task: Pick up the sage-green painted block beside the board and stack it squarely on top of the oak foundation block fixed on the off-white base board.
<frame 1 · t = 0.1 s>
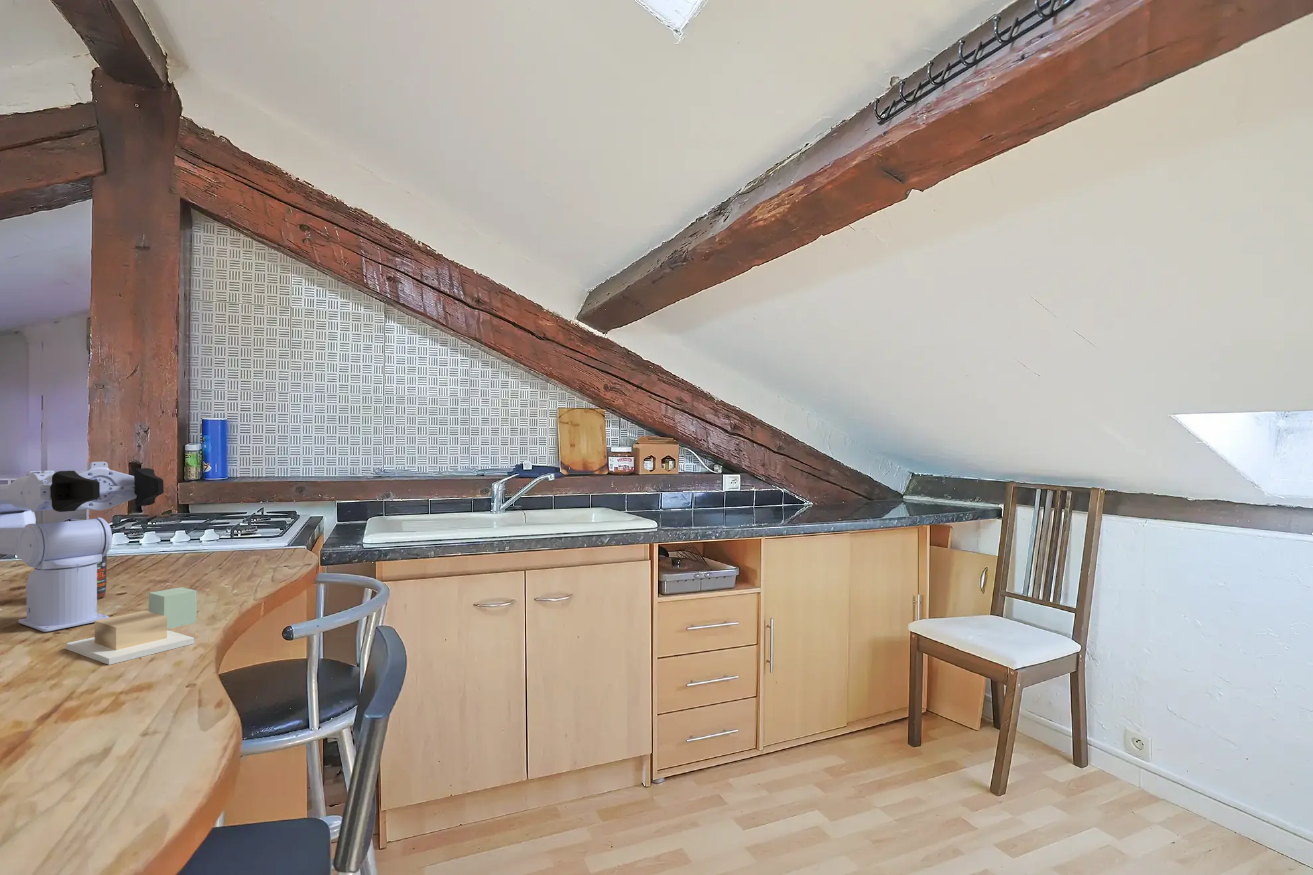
hand: (129, 488, 95), 22 cm above the table, tool horizontal, fingers open, 7 cm apart
build base: (131, 646, 93), on the table
supplement bottle: (84, 600, 118), on the table
sage block: (172, 624, 104), on the table
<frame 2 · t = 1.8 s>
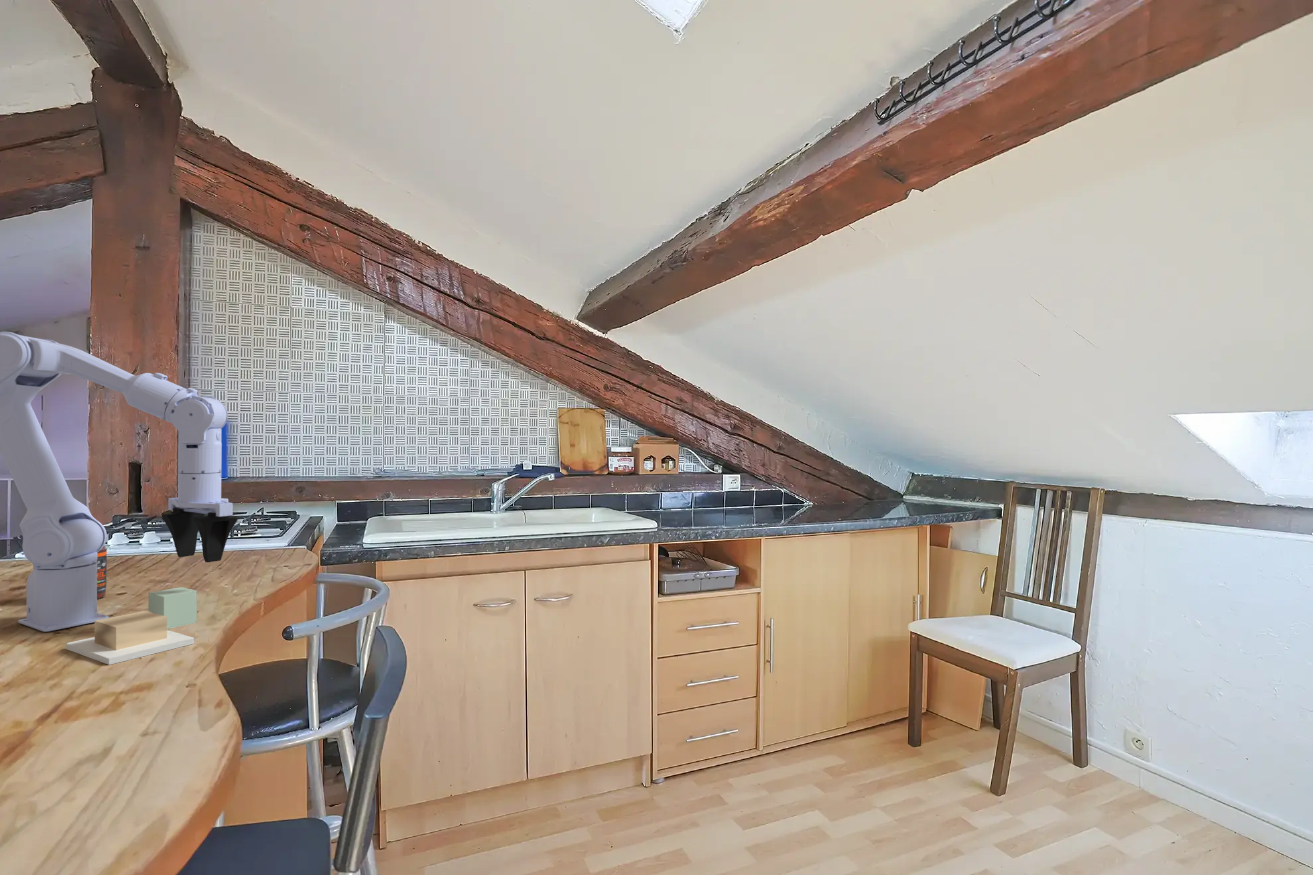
hand: (199, 558, 108), 9 cm above the table, tool pointing down, fingers open, 7 cm apart
nothing on the table moved.
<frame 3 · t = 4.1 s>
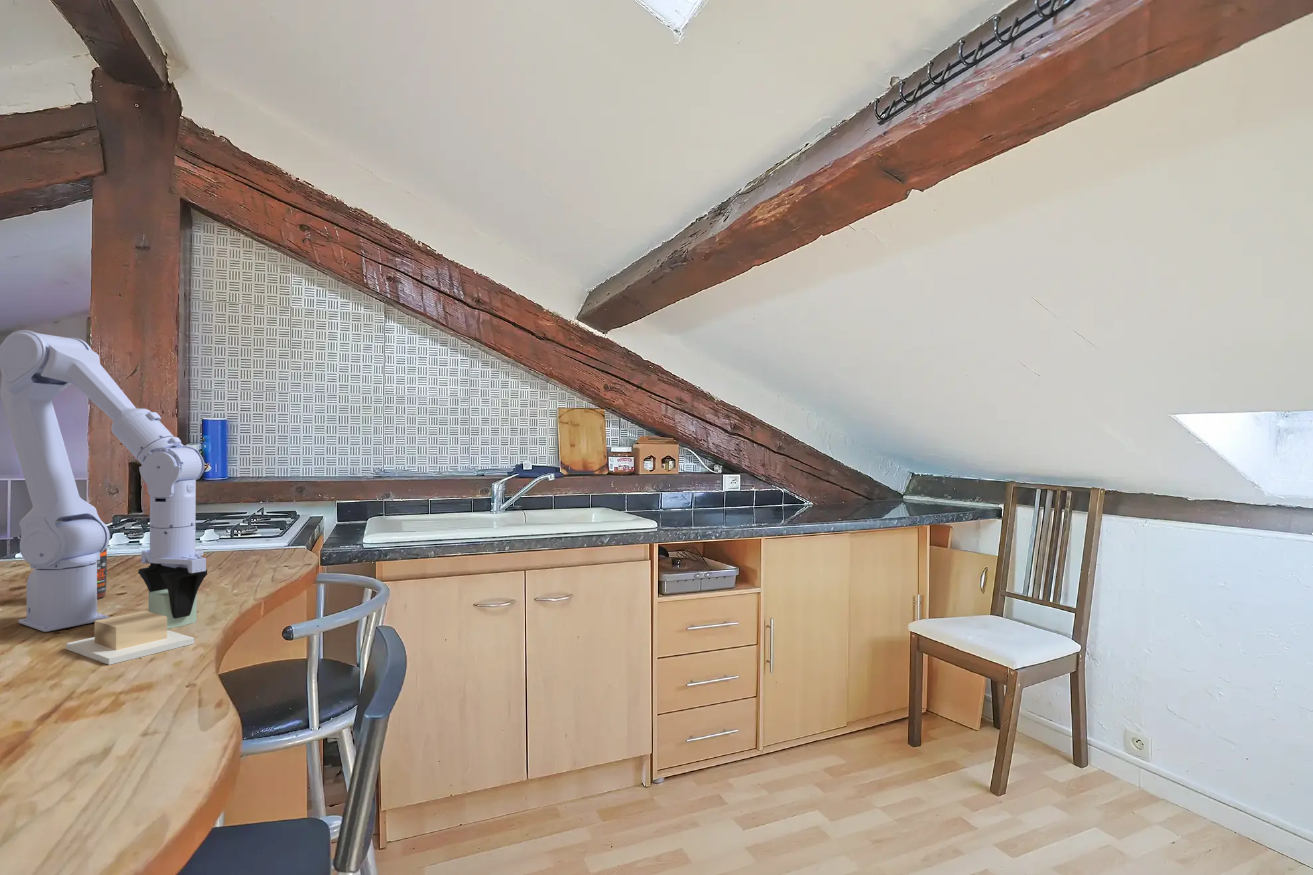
hand: (172, 614, 104), 1 cm above the table, tool pointing down, fingers closed on sage block, 4 cm apart
sage block: (172, 623, 104), on the table, touching gripper
everything else where it was.
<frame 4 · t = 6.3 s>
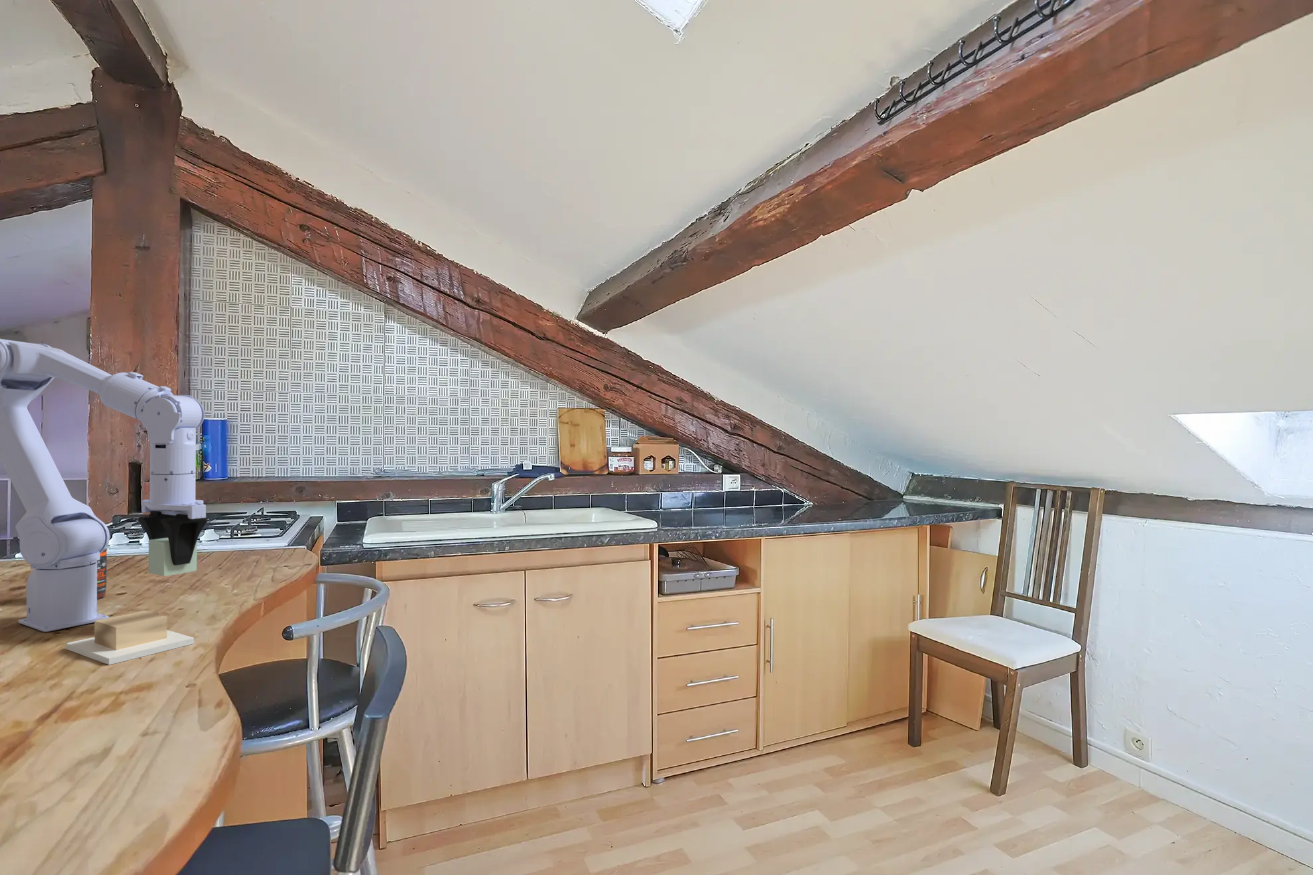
hand: (172, 562, 104), 9 cm above the table, tool pointing down, fingers closed on sage block, 4 cm apart
sage block: (172, 571, 104), point 8 cm above the table, touching gripper
everything else where it was.
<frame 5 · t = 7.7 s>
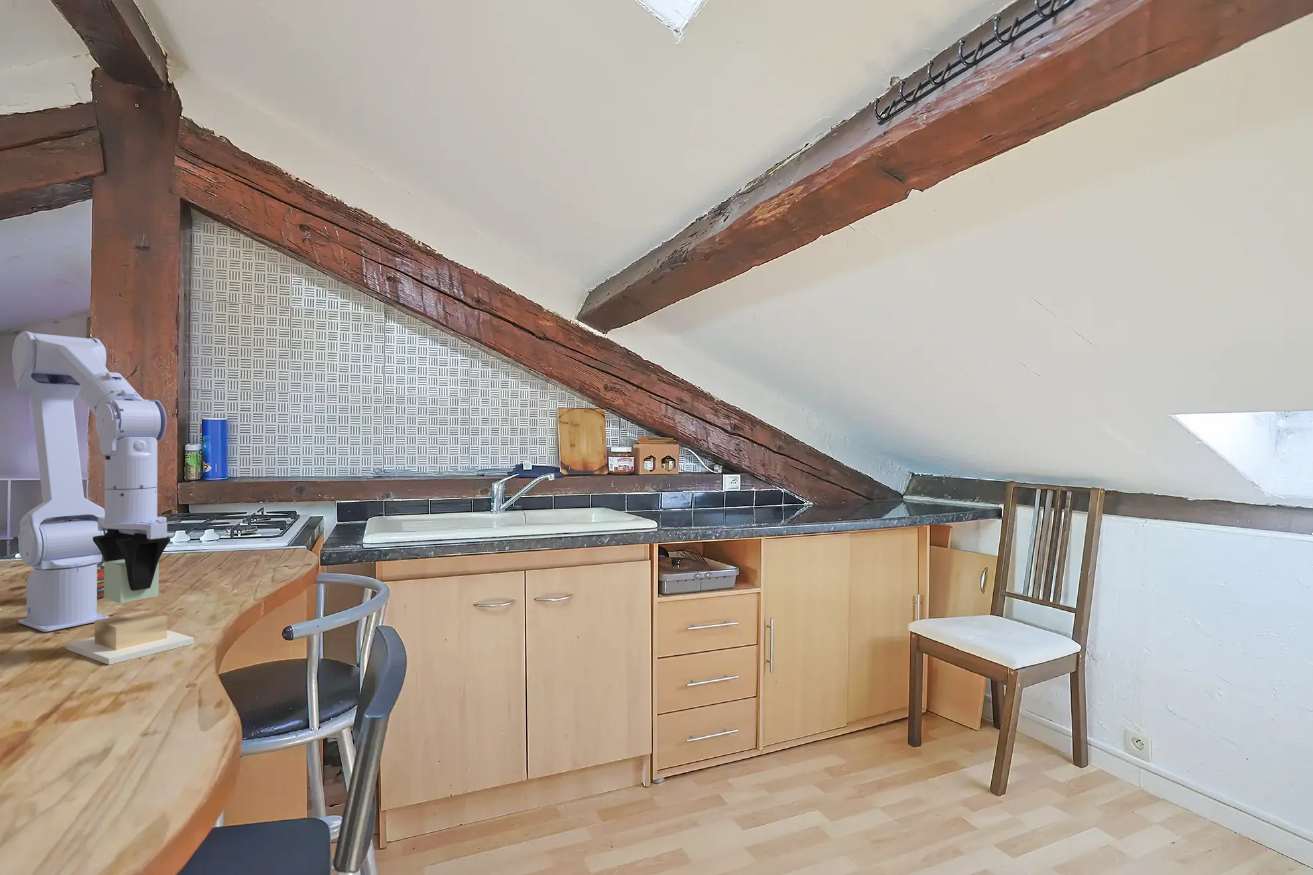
hand: (131, 587, 93), 8 cm above the table, tool pointing down, fingers closed on sage block, 4 cm apart
sage block: (131, 597, 93), point 7 cm above the table, touching gripper
everything else where it was.
when the fingers open (7 cm above the table, at t = 8.8 s): sage block drops 2 cm, resting on build base.
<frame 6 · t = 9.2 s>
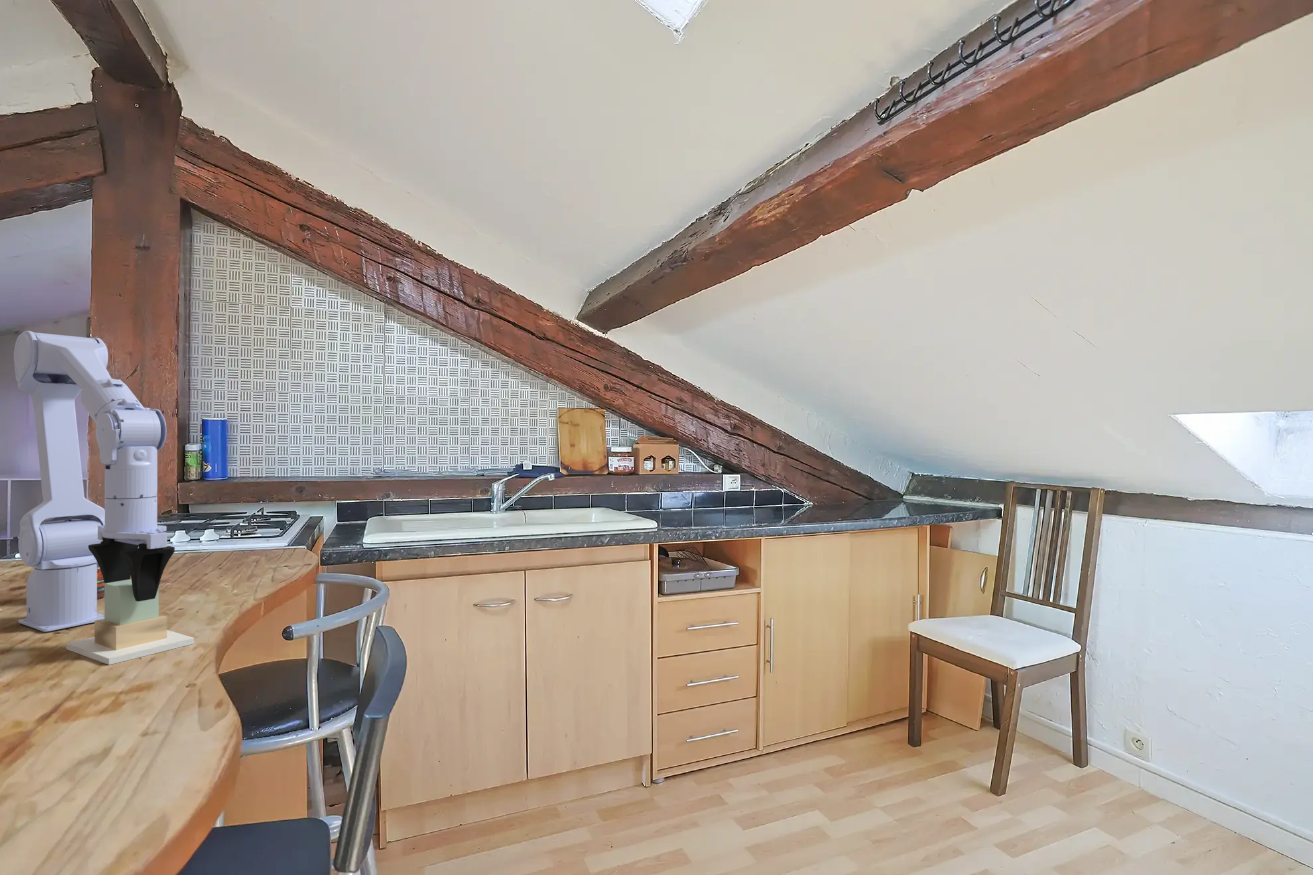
hand: (131, 596, 93), 7 cm above the table, tool pointing down, fingers open, 7 cm apart
sage block: (131, 618, 93), point 4 cm above the table, touching build base
everything else where it was.
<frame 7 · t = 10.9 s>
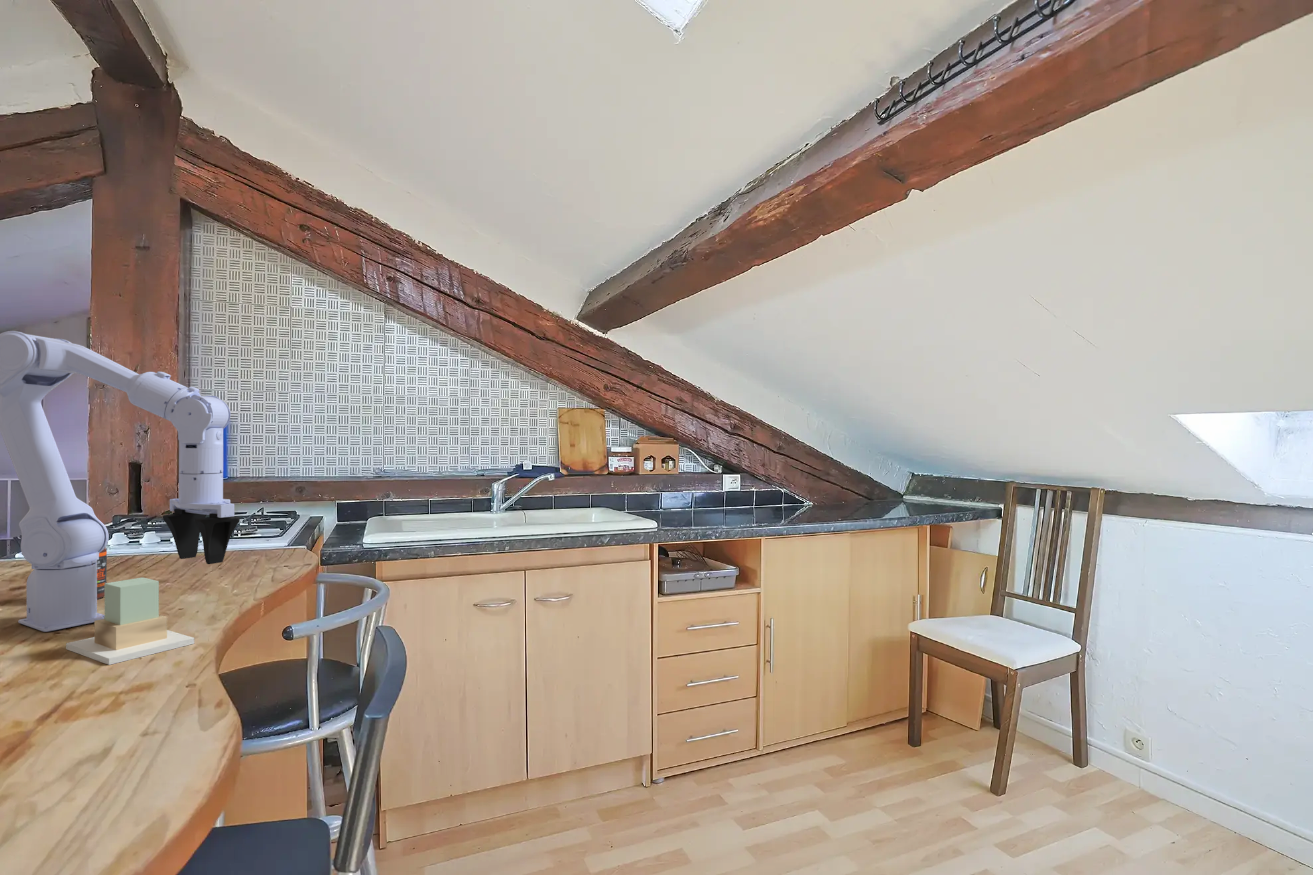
hand: (201, 560, 106), 9 cm above the table, tool pointing down, fingers open, 7 cm apart
nothing on the table moved.
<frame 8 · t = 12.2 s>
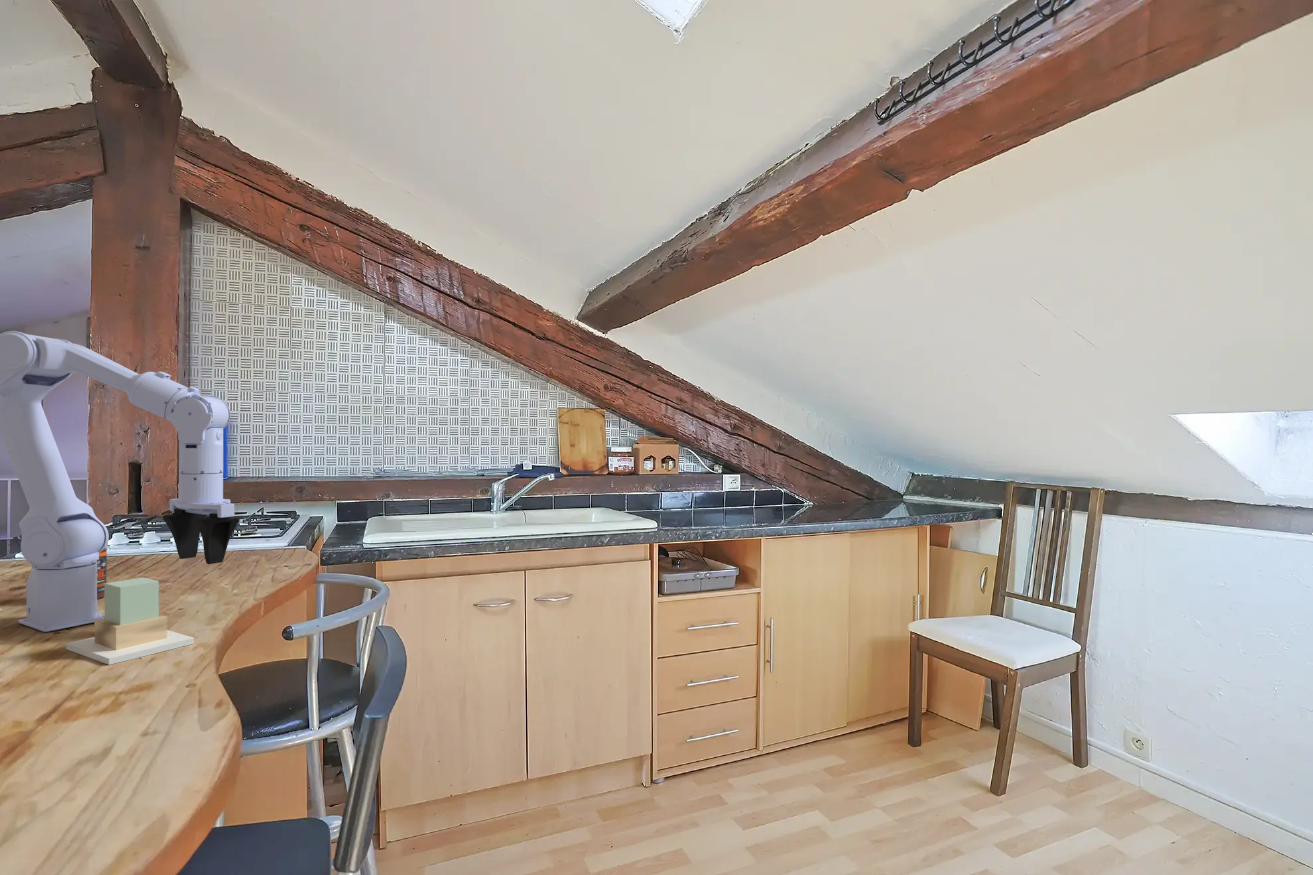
hand: (201, 560, 106), 9 cm above the table, tool pointing down, fingers open, 7 cm apart
nothing on the table moved.
at the end: sage block 0.1 cm off-centre on the build base, point 3.8 cm above the build base's base; sage block tilted 0°; the gripper is holding nothing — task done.
